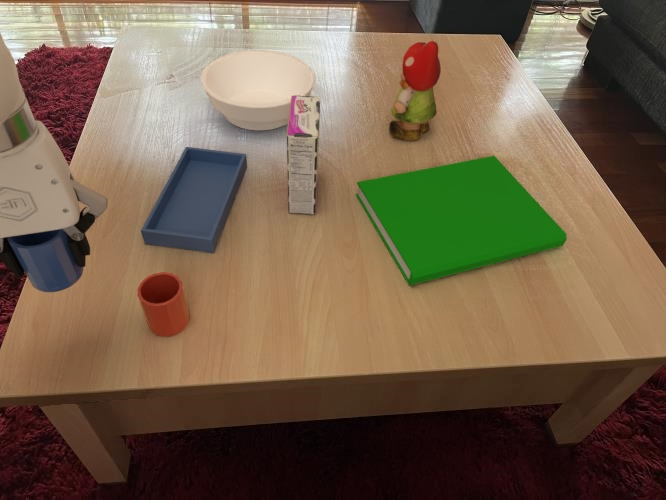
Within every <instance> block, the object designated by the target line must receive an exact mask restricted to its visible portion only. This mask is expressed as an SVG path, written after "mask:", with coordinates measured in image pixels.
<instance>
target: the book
mask: <svg viewBox="0 0 666 500" xmlns="http://www.w3.org/2000/svg"><path fill="white" fill-rule="evenodd" d="M356 184H357V186H358V192H356V193H355V197H356V198H357V200H358V201H359V203H360V205H361V206H362V208H363V210H364V212H365V213H366V215H367V217H368V219H369V220H370V222H371V224H372V225H373V227H374V228H375V230H376V232H377V234H378V236H379V238H380V239H381V240H382V242H383V244H384V246H385V247H386V249H387V251H388V253H389V254H390V256H391V257H392V259H393V260H394V262H395V265H396V266H397V268H398V269H399V271H400V273H401V274H402V276H403V278H404V280H405V281H406V283H407V285H408V286H412V285H417V284H421V283H425V282H428V281H432V280H436V279H441V278H444V277H448V276H451V275H455V274H456V275H457V274H459V273H463V272H468V271H471V270H476V269H478V268H483V267H487V266H490V265H494V264H498V263H502V262H507V261H509V260H510V261H511V260H514V259H517V258H522V257H525V256H529V255H532V254H537V253H540V252H541V253H542V252H544V251H547V250H548V251H549V250H551V249H555V248H556V249H557V248H560V247H564V245H565V243H566V242H567V237H568V236H567V232H565V230H564V229H562V227H561V226H560V225H559V224H558V223H557V222H556V221H555V220H554V218H552V217H551V216H550V214H549V213H548V212H547V211H546V210H545V209H544V208H543V207H542V205H540V203H539V202H538V201H537V200H536V198H534V197H533V196H532V195H531V194H530V193H529V191H528V190H527V189H526V187H524V186H523V185H522V184H521V183H520V182H519V181H518V179H517V178H516V177H515V176H514V175H513V174H512V173H511V172H510V171H509V170H508V169H507V167H506V166H505V165H504V164H503V163H502V161H500V160H499V159H498V158H497V157H496V155H490V156H485V157H480V158H473V159H470V160H464V161H459V162H453V163H449V164H444V165H438V166H433V167H428V168H423V169H417V170H412V171H407V172H402V173H397V174H392V175H385V176H380V177H376V178H375V177H374V178H371V179H364V180H360V181H357V182H356Z"/></svg>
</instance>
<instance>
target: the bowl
mask: <svg viewBox="0 0 666 500" xmlns="http://www.w3.org/2000/svg"><path fill="white" fill-rule="evenodd" d="M315 79H316V78H315V74H314V71H313V70H312V68H311V67H310V66H309V65H308V64H307V63H306V62H304V60H302V59H300V58H298V57H295V56H294V55H291V54H287V53H284V52H279V51H276V50H266V49H250V50H249V49H247V50H241V51H235V52H230V53H227V54H224V55H222V56H220V57H217V58H216V59H214V60H212V61H210V62H209V63H208V64H207V65H206V66H205V67H204V69H203V70H202V72H201V74H200V83H201V87H202V88H203V90H204V92H205V94H206V96H207V97H208V100H209V101H210V104H211V105H212V106H213V108H214V109H216V111H218V112H219V113H220V114H222V115H223V116H224V118H225V119H226V120H227V121H228V123H230V124H231V125H234V126H236V127H238V128H240V129H245V130H249V131H270V130H271V131H272V130H275V129H278V128H281V127H284V126H285V125H288V121H289V114H290V105H291V97H292V96H295V95H299V96H309V97H310V95H311V93H312V91H313V88H314V86H315V82H316V80H315Z"/></svg>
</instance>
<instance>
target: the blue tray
mask: <svg viewBox="0 0 666 500" xmlns="http://www.w3.org/2000/svg"><path fill="white" fill-rule="evenodd" d="M247 161H248V160H247V153H241V152H231V151H225V150H224V151H223V150H214V149H208V148H199V147H193V146H192V147H191V146H185V148H184V149H183V151H182V153H181V154H180V157H179V159H178V161H177V163H176V165H175V166H174V168H173V170H172V172H171V174H170V175H169V177H168V178H167V181H166V183H165V184H164V186H163V189H162V191H161V192H160V194H159V196H158V198H157V200H156V201H155V204H154V205H153V207H152V209H151V211H150V212H149V215H148V216H147V218H146V219H145V221H144V224H143V226H141V227H142V228H141V229H140V233H141V236H142V240H143V243H144V245H148V246H149V245H150V246H157V247H165V248H172V249H178V250H179V249H180V250H187V251H195V252H203V253H209V254H215V252H216V249H217V246H218V244H219V241H220V238H221V236H222V233H223V231H224V228H225V225H226V223H227V220H228V218H229V216H230V212H231V209H232V207H233V205H234V202H235V199H236V197H237V194H238V192H239V189H240V187H241V184H242V181H243V179H244V176H245V174H246V171H247V169H248V162H247Z"/></svg>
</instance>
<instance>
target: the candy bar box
mask: <svg viewBox="0 0 666 500" xmlns="http://www.w3.org/2000/svg"><path fill="white" fill-rule="evenodd" d="M320 122H321V97H320V96H310V95H309V96H299V95H295V96H292V97H291V105H290V114H289V121H288V123H287V128H286V129H287V130H286V149H287V150H286V156H287V157H286V163H287V166H286V167H287V204H288V205H287V207H288V208H287V210H288V214H293V215H311V216H312V215H313V216H314V215H316V211H317V210H316V209H317V199H318V182H319V181H318V179H319V177H318V175H319V152H320V151H319V147H320V126H321V125H320Z"/></svg>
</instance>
